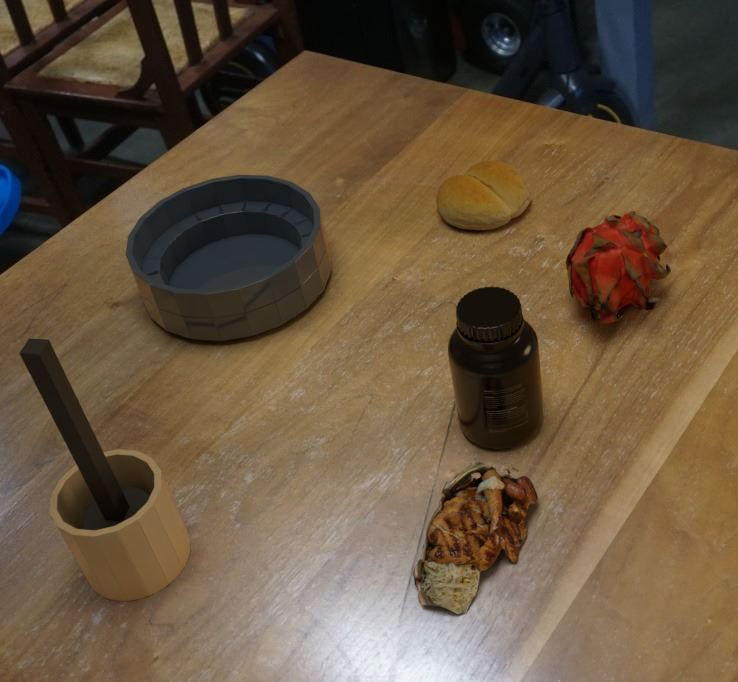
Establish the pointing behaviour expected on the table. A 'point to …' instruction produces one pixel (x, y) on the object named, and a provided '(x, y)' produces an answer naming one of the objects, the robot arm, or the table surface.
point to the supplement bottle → (495, 369)
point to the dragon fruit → (616, 266)
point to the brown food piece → (471, 534)
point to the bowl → (230, 257)
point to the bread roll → (483, 196)
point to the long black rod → (80, 440)
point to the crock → (124, 531)
